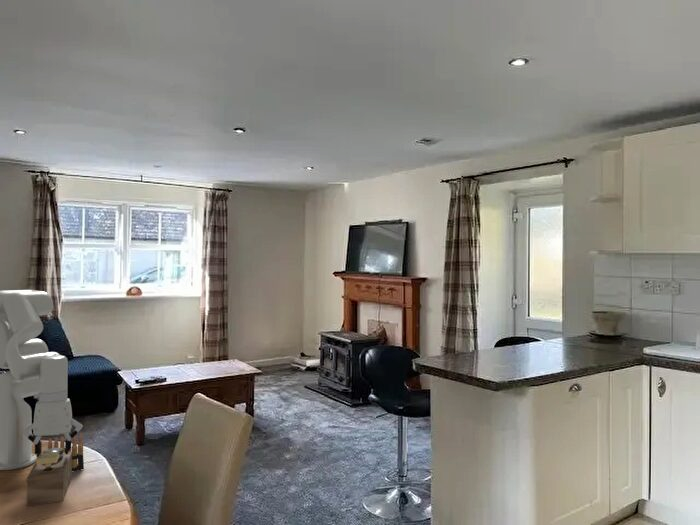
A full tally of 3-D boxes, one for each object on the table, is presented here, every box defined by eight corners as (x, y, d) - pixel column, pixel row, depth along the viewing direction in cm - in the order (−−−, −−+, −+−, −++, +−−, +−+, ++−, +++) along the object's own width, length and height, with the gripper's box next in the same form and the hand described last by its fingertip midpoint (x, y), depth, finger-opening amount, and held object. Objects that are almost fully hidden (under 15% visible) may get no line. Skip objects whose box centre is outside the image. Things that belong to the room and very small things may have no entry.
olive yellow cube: (40, 468, 154) (40, 453, 154) (59, 466, 156) (59, 451, 156) (36, 475, 149) (36, 459, 149) (56, 472, 151) (56, 457, 151)
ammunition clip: (46, 477, 167) (46, 439, 167) (46, 475, 168) (46, 437, 168) (83, 469, 173) (84, 433, 173) (83, 467, 174) (83, 431, 174)
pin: (41, 486, 157) (41, 455, 157) (44, 479, 162) (44, 449, 162) (61, 484, 159) (61, 452, 159) (64, 477, 164) (64, 447, 164)
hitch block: (39, 480, 164) (39, 455, 164) (71, 476, 167) (71, 451, 167) (27, 506, 147) (27, 477, 147) (63, 500, 150) (63, 473, 150)
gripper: (17, 402, 154) (17, 462, 154) (83, 396, 160) (83, 454, 160) (23, 395, 161) (23, 453, 161) (86, 391, 167) (86, 446, 167)
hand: (53, 453), depth 161 cm, fingers open, 7 cm apart
